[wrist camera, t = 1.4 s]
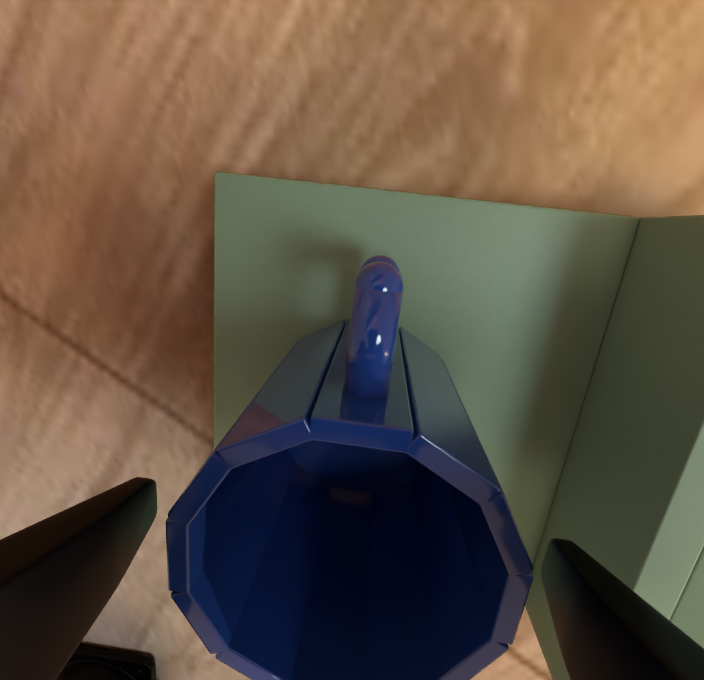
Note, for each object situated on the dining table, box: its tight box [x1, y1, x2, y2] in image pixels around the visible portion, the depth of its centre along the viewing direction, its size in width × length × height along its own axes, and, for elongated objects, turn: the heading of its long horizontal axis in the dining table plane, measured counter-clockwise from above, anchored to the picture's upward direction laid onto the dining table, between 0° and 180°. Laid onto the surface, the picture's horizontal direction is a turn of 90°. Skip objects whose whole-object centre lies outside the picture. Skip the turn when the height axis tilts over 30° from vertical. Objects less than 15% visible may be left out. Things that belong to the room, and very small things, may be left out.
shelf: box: [213, 172, 704, 680], centre depth 13 cm, size 17×15×8 cm
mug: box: [166, 250, 533, 680], centre depth 10 cm, size 7×9×7 cm
